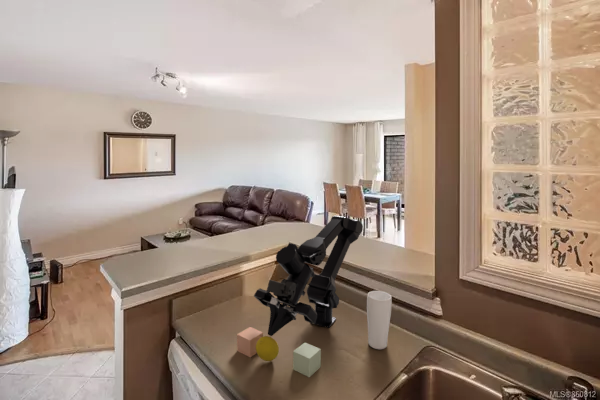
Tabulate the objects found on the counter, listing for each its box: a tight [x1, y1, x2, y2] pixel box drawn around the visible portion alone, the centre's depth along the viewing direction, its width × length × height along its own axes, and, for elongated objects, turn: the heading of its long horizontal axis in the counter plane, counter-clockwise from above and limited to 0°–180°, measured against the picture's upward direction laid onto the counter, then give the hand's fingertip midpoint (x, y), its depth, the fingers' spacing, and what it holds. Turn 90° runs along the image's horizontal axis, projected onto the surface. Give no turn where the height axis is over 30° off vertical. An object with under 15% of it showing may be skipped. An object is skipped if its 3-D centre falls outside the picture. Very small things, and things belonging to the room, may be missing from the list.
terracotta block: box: [236, 326, 264, 358], centre depth 89 cm, size 5×5×5 cm
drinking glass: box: [366, 290, 393, 350], centre depth 91 cm, size 7×7×15 cm
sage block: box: [292, 342, 322, 378], centre depth 81 cm, size 5×5×5 cm
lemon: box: [256, 335, 280, 362], centre depth 83 cm, size 6×6×8 cm
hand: (269, 335), depth 83 cm, fingers closed
